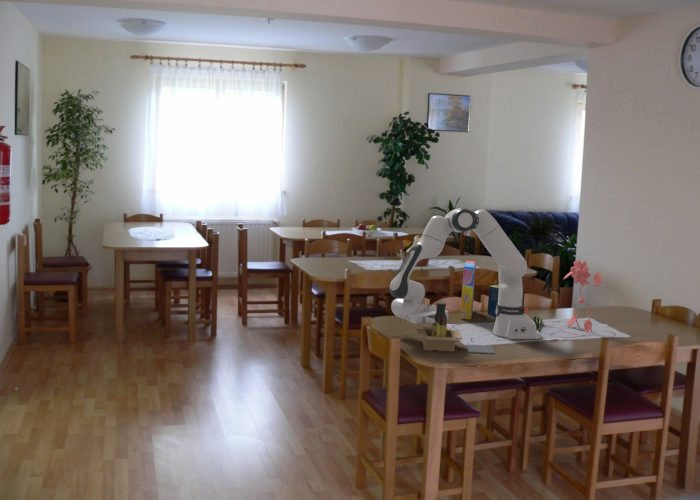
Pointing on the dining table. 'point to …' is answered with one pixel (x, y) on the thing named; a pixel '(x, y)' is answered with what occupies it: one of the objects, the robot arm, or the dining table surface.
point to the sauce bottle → (440, 321)
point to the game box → (468, 289)
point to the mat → (480, 349)
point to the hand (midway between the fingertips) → (441, 320)
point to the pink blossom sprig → (581, 274)
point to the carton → (439, 339)
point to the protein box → (496, 299)
